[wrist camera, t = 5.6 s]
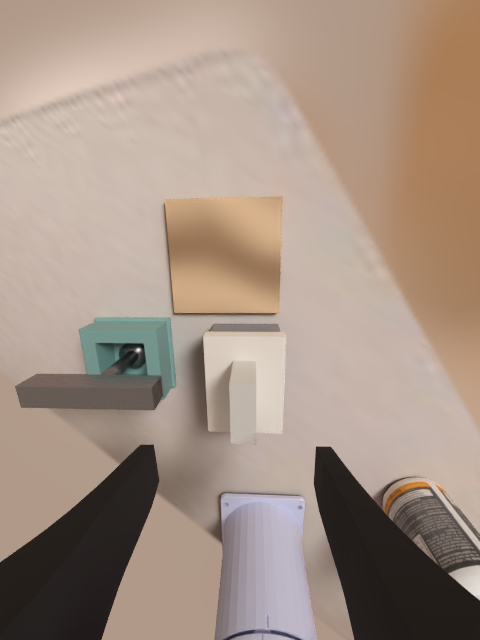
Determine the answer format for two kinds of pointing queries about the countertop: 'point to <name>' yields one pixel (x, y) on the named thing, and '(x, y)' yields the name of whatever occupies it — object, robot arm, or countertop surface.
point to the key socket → (113, 333)
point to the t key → (96, 387)
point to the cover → (245, 383)
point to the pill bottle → (436, 528)
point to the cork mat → (225, 254)
